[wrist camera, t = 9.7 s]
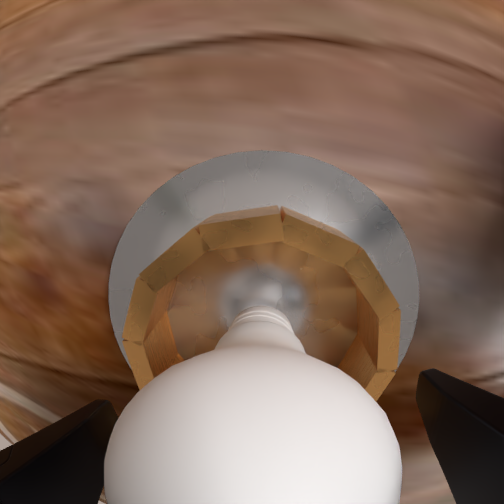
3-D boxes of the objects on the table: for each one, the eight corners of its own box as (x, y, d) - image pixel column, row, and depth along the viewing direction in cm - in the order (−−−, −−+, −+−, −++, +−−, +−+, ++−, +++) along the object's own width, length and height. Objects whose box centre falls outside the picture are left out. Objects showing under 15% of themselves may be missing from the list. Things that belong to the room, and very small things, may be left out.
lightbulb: (182, 368, 14) (93, 586, 3) (199, 240, 12) (-11, 453, 2) (311, 392, 14) (345, 615, 3) (350, 270, 12) (525, 499, 2)
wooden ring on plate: (400, 139, 12) (446, 127, 8) (400, 404, 15) (424, 451, 11) (91, 186, 13) (37, 191, 9) (160, 428, 16) (141, 476, 12)
